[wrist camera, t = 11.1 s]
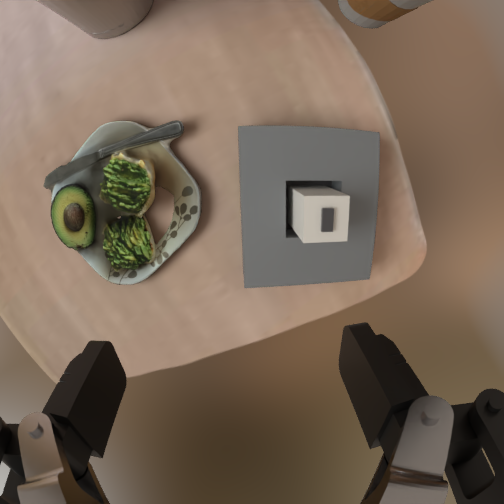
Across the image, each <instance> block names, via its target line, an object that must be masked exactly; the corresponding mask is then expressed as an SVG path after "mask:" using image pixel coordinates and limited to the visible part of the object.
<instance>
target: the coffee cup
mask: <svg viewBox="0 0 504 504" xmlns="http://www.w3.org/2000/svg"><path fill="white" fill-rule="evenodd" d="M430 1H432V0H338V3H339V7H340V10H341V12H342V13H343V14H344V16H345V17H346V18H347V19H348V20H350V21H351V22H353V23H354V24H356V25H358V26H361V27H364V28H378V27H380V26H382V25H384V24H386V23H388V22H390V21H392V20H394V19H396V18H398V17H400V16H402V15H404V14H406V13H408V12H410V11H413V10H414V9H417V8H418V7H419V6H421V5H424V4H426V3H428V2H430Z"/></svg>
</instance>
